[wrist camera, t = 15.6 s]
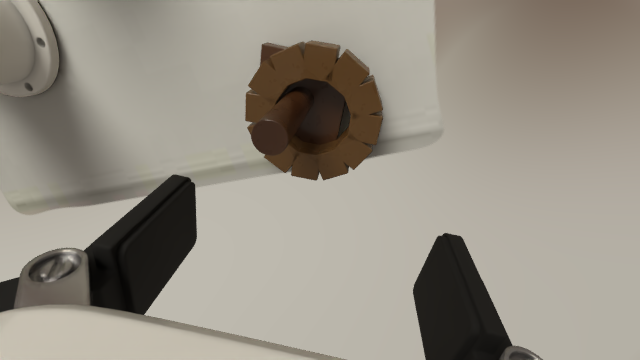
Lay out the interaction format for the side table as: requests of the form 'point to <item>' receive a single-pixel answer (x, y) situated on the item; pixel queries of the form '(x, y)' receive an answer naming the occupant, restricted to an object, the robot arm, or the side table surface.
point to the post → (299, 113)
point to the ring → (340, 74)
